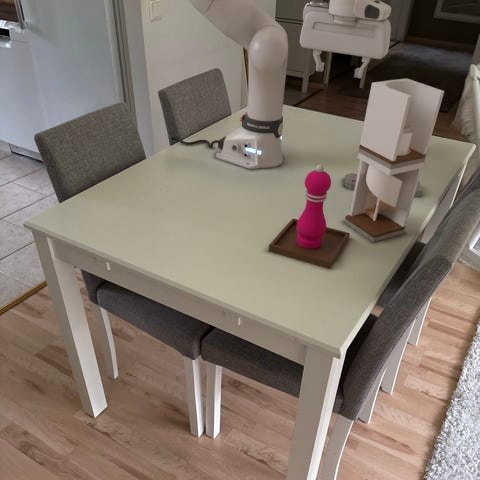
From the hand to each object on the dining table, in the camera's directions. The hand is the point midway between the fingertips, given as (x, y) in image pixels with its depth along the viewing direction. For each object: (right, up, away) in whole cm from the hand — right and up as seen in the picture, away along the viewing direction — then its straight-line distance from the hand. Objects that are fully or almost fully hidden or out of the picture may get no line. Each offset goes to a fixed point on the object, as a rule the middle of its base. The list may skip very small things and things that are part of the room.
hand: (338, 74), depth 115 cm
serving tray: (-6, -39, +7) cm, 40 cm away
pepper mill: (-6, -39, +7) cm, 40 cm away
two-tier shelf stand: (+12, -34, +15) cm, 39 cm away
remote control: (+21, -17, +35) cm, 44 cm away
